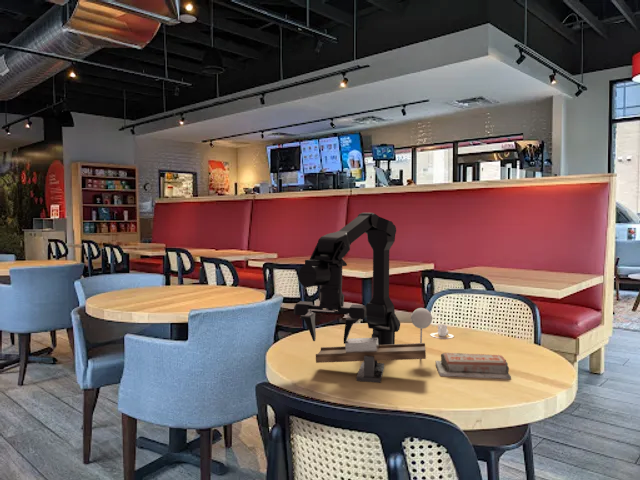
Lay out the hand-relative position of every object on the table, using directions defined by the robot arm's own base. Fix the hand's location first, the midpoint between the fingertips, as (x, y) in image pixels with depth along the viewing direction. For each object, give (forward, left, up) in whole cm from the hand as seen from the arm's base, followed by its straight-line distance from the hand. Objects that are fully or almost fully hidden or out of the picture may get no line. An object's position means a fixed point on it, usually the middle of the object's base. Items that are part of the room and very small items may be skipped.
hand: (329, 342), depth 133 cm
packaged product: (-34, +18, -8) cm, 39 cm away
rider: (-7, +6, -2) cm, 9 cm away
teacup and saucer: (-57, -15, -8) cm, 59 cm away
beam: (-9, +7, -3) cm, 12 cm away
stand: (-9, +7, -8) cm, 13 cm away
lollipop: (-29, +3, -8) cm, 30 cm away
